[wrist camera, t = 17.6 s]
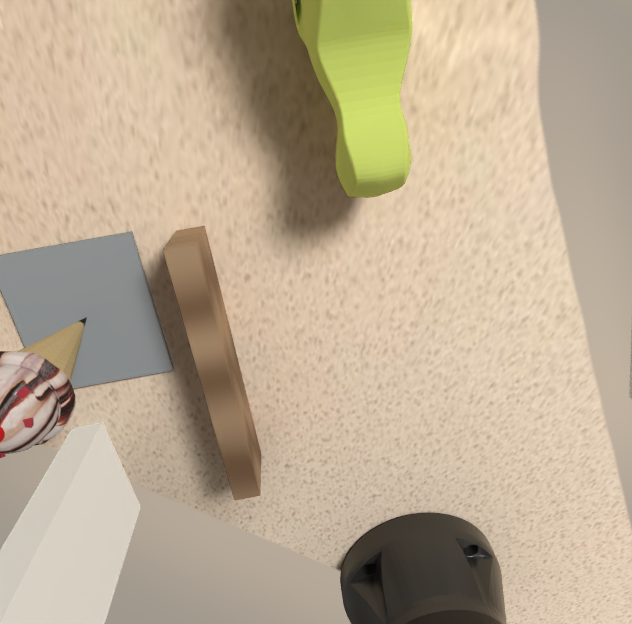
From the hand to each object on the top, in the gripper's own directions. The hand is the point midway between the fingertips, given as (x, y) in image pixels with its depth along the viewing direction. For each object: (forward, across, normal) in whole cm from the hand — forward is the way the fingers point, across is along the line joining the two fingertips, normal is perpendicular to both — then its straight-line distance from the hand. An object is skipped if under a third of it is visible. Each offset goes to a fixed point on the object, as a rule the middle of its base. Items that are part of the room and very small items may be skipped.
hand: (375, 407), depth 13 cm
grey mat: (+26, +18, +4) cm, 32 cm away
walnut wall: (+26, +9, +10) cm, 29 cm away
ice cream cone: (+26, +18, +4) cm, 32 cm away
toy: (+26, -5, -11) cm, 29 cm away
